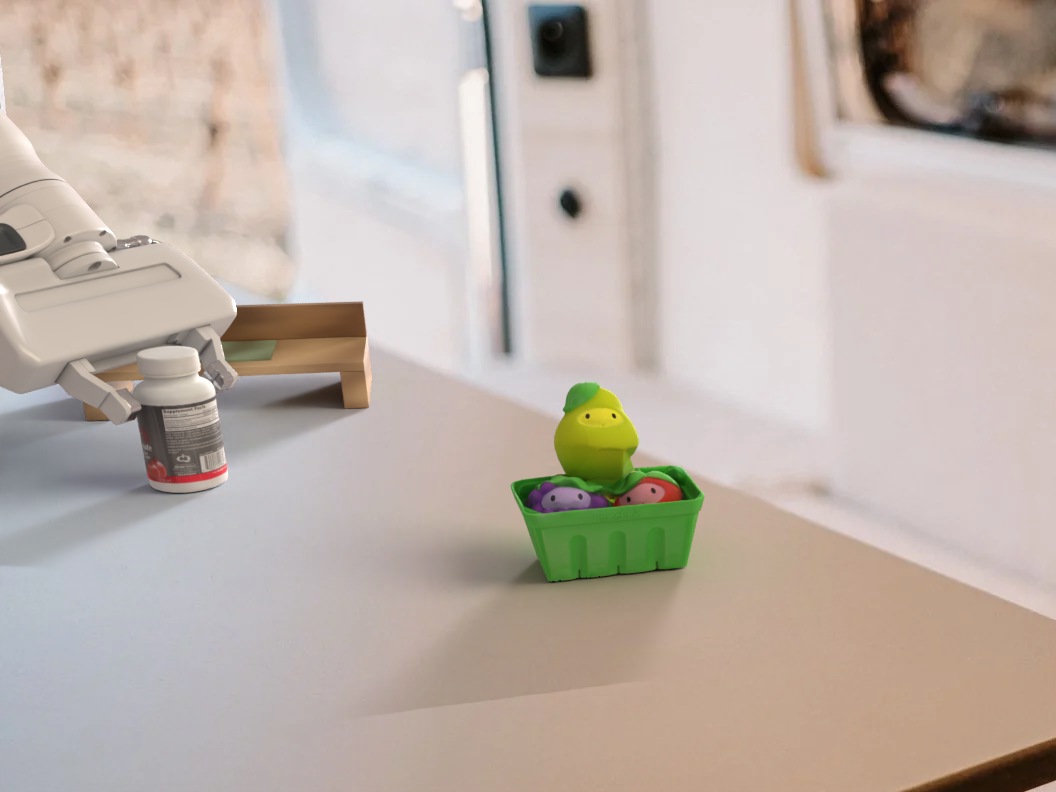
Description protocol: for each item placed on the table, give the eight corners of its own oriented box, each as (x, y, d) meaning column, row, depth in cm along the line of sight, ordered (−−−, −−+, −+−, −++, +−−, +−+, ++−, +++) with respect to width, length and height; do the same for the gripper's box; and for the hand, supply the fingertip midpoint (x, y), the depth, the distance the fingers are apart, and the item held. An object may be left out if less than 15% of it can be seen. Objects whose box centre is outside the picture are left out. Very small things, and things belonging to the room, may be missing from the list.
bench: (86, 421, 132) (70, 336, 130) (108, 388, 142) (94, 309, 139) (369, 407, 139) (359, 326, 136) (372, 377, 148) (363, 301, 146)
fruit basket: (530, 592, 100) (516, 415, 96) (512, 546, 108) (497, 380, 103) (710, 573, 104) (704, 402, 100) (680, 530, 112) (673, 370, 107)
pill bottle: (139, 480, 118) (115, 349, 115) (215, 468, 122) (195, 339, 118) (161, 499, 115) (137, 364, 111) (239, 486, 118) (219, 354, 114)
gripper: (139, 260, 125) (261, 395, 126) (-96, 308, 108) (49, 465, 109) (175, 205, 122) (300, 344, 123) (-60, 245, 104) (88, 407, 106)
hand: (180, 401), depth 116 cm, fingers open, 8 cm apart
